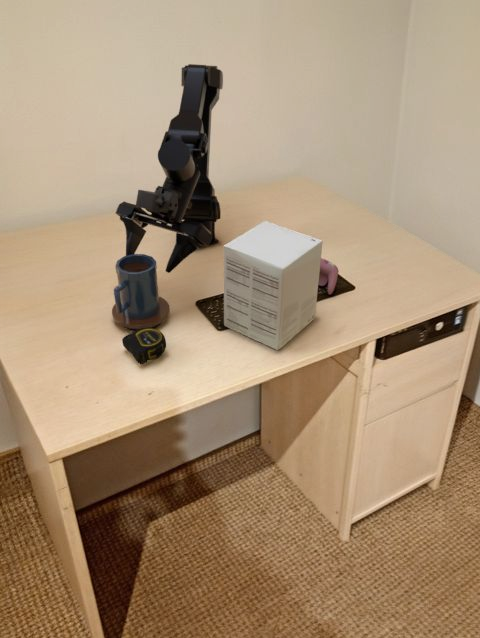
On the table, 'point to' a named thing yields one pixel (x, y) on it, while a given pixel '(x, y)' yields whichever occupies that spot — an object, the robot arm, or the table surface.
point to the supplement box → (271, 283)
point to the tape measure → (145, 344)
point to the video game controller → (328, 275)
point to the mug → (138, 293)
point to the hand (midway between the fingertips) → (147, 265)
